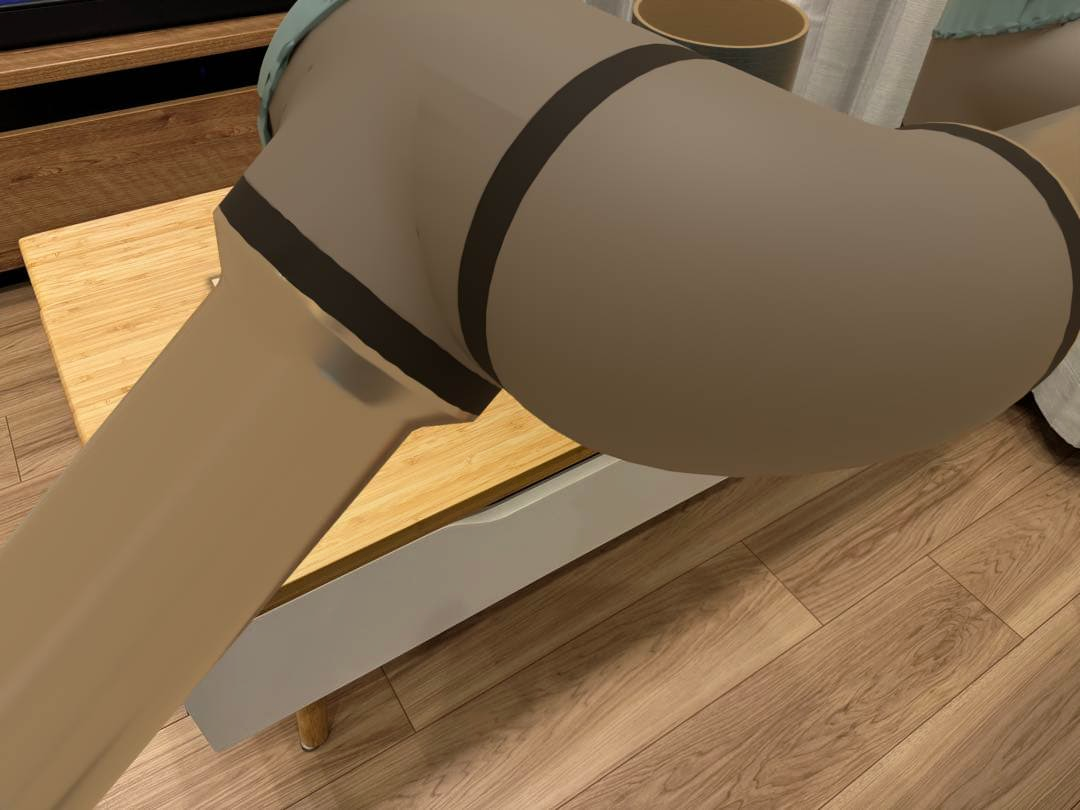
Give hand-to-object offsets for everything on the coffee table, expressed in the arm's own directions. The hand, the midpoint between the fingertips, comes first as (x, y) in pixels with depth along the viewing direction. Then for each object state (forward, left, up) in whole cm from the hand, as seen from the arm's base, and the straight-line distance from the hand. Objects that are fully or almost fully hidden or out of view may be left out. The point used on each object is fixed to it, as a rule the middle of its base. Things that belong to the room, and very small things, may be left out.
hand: (506, 165), depth 58 cm
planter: (+53, -19, -26) cm, 62 cm away
